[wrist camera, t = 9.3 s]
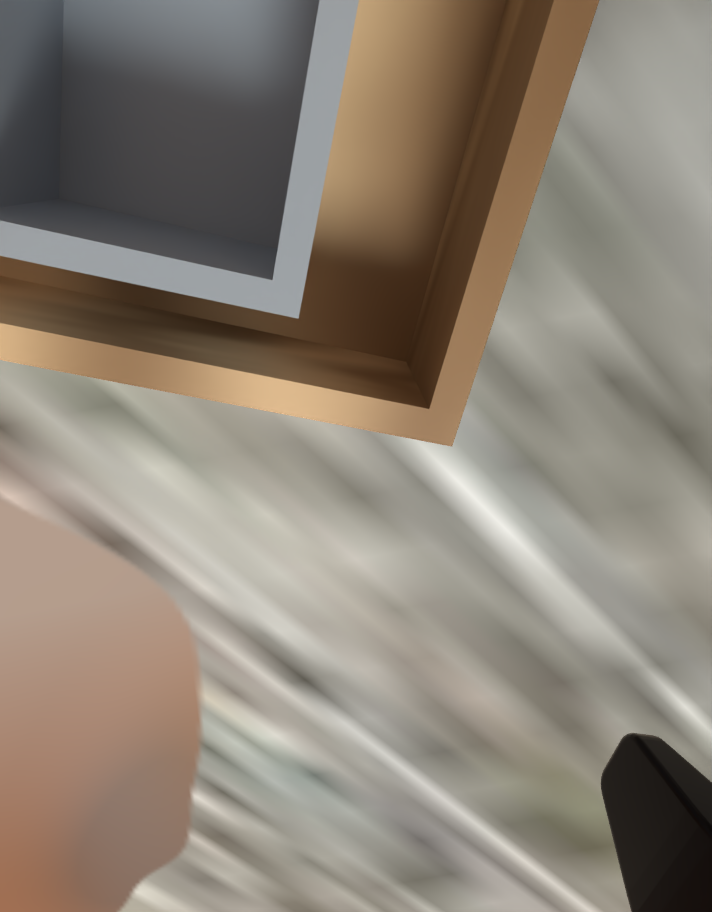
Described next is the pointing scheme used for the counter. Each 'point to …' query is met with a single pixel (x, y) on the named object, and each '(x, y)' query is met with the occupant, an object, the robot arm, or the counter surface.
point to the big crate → (357, 236)
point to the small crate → (171, 140)
